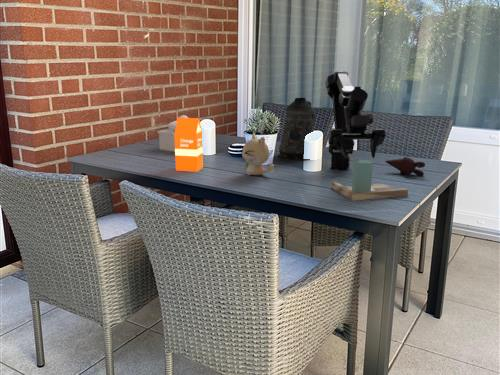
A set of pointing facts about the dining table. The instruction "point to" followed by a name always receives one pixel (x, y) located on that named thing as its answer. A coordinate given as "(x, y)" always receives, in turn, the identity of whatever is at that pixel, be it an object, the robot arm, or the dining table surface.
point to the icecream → (407, 166)
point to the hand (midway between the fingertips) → (360, 157)
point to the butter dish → (168, 136)
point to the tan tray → (370, 192)
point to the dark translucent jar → (296, 128)
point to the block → (362, 175)
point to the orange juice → (188, 144)
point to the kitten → (256, 156)
